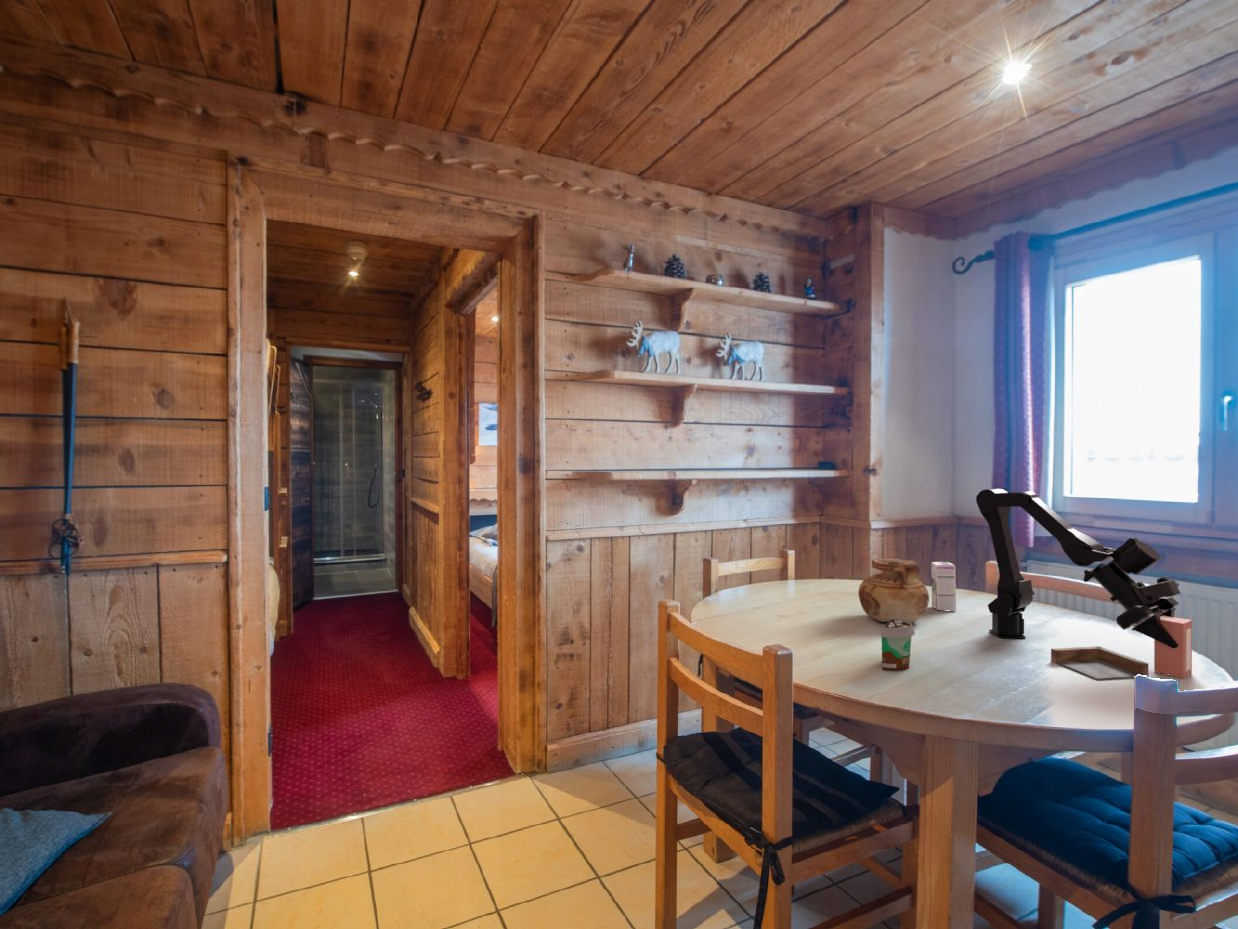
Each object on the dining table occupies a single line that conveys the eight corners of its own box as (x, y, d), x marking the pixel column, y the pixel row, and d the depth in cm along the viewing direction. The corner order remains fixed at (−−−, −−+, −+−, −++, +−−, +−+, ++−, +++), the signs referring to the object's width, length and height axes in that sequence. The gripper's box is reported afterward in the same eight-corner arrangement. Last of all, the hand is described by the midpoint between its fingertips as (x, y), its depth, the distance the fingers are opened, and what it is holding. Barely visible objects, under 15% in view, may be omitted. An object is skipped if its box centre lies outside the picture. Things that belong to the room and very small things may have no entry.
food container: (910, 677, 139) (910, 631, 139) (881, 672, 143) (881, 627, 142) (918, 661, 150) (918, 619, 150) (890, 656, 153) (890, 615, 153)
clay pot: (840, 610, 186) (855, 545, 191) (873, 624, 197) (886, 562, 201) (903, 623, 171) (917, 552, 175) (935, 638, 181) (947, 570, 186)
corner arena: (1096, 680, 136) (1097, 666, 136) (1051, 661, 149) (1051, 648, 149) (1148, 677, 138) (1148, 663, 138) (1098, 659, 150) (1098, 646, 150)
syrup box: (956, 612, 195) (956, 565, 195) (936, 611, 196) (936, 564, 196) (950, 607, 200) (951, 561, 200) (930, 606, 202) (930, 561, 201)
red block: (1154, 672, 141) (1154, 618, 141) (1163, 668, 144) (1163, 615, 143) (1184, 679, 137) (1184, 623, 136) (1192, 674, 139) (1193, 620, 139)
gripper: (1134, 570, 138) (1199, 632, 129) (1167, 561, 148) (1230, 618, 139) (1091, 599, 145) (1151, 660, 136) (1126, 589, 155) (1184, 645, 146)
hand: (1181, 645), depth 139 cm, fingers closed on red block, 5 cm apart
